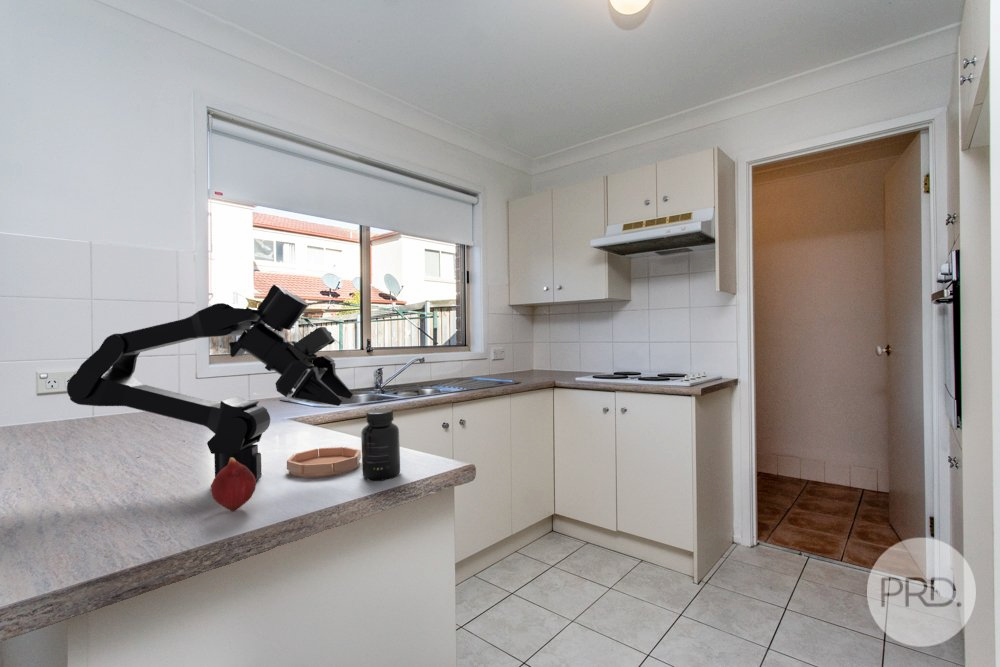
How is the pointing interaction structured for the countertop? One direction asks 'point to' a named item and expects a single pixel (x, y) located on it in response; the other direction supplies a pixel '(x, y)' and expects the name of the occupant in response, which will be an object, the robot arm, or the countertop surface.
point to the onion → (233, 485)
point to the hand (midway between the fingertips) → (346, 399)
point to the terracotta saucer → (323, 462)
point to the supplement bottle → (380, 446)
